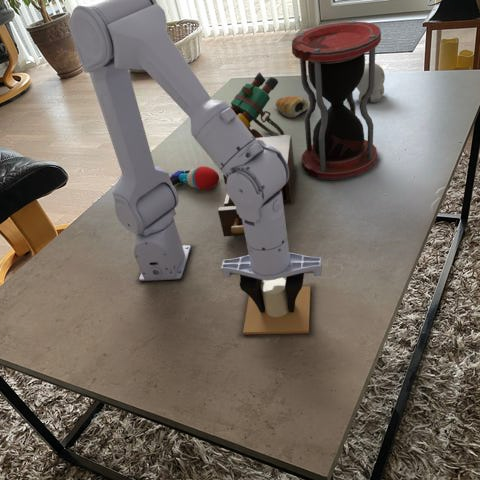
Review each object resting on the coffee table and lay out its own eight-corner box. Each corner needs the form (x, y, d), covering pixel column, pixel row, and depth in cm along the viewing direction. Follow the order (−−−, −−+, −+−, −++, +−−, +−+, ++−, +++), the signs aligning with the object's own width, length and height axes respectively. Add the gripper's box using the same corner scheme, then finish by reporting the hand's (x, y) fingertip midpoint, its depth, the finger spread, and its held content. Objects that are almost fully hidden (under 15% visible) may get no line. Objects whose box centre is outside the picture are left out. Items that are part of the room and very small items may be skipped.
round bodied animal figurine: (343, 92, 132) (342, 58, 126) (387, 93, 126) (389, 58, 120) (333, 103, 128) (332, 69, 122) (379, 105, 122) (380, 69, 116)
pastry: (270, 110, 131) (268, 96, 129) (289, 102, 133) (288, 87, 131) (291, 119, 125) (289, 104, 123) (311, 110, 127) (310, 95, 125)
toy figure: (162, 195, 112) (210, 196, 103) (154, 175, 109) (203, 174, 100) (182, 181, 116) (231, 180, 107) (175, 161, 114) (224, 159, 105)
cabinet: (290, 203, 98) (286, 169, 93) (230, 208, 101) (222, 174, 95) (294, 166, 108) (291, 134, 103) (239, 172, 111) (233, 140, 105)
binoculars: (243, 147, 126) (207, 108, 115) (278, 103, 124) (244, 59, 113) (273, 166, 116) (236, 125, 106) (311, 118, 114) (278, 72, 104)
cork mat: (308, 333, 73) (308, 331, 72) (243, 334, 75) (242, 332, 74) (310, 288, 79) (310, 285, 79) (250, 290, 82) (250, 288, 81)
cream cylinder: (288, 317, 75) (285, 293, 71) (263, 317, 76) (258, 293, 72) (291, 299, 78) (288, 275, 74) (266, 299, 79) (262, 276, 75)
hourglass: (322, 139, 115) (316, 20, 97) (388, 148, 107) (395, 20, 89) (288, 174, 106) (275, 50, 89) (357, 186, 98) (357, 52, 81)
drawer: (282, 245, 87) (278, 218, 83) (220, 249, 90) (214, 223, 85) (288, 193, 99) (285, 167, 95) (233, 197, 101) (228, 172, 97)
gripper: (321, 218, 68) (325, 290, 78) (221, 223, 72) (237, 291, 81) (318, 250, 63) (323, 322, 73) (211, 253, 67) (229, 321, 76)
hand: (277, 307), depth 77 cm, fingers closed on cream cylinder, 4 cm apart
